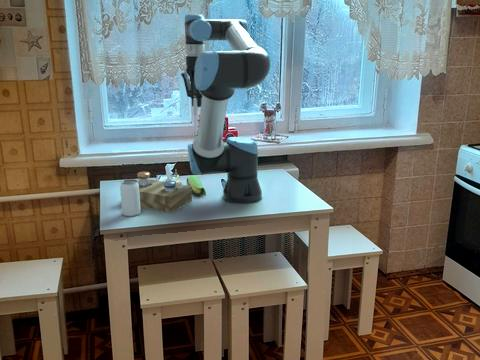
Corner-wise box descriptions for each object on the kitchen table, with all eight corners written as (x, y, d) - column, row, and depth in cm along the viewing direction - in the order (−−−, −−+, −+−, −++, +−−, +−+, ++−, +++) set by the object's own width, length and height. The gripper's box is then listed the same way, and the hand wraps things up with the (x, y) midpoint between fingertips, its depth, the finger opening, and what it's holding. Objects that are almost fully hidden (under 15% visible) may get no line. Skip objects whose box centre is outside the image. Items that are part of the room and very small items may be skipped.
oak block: (192, 201, 194) (191, 186, 193) (171, 212, 182) (170, 196, 181) (145, 192, 204) (145, 178, 202) (123, 203, 192) (121, 188, 190)
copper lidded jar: (153, 192, 196) (152, 172, 194) (145, 196, 192) (144, 175, 190) (143, 191, 198) (142, 170, 196) (136, 194, 194) (134, 173, 192)
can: (139, 216, 179) (137, 184, 175) (121, 217, 178) (118, 184, 175) (141, 210, 185) (139, 178, 182) (123, 210, 185) (121, 179, 181)
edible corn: (197, 174, 215) (187, 172, 213) (208, 189, 197) (197, 187, 195) (194, 185, 216) (184, 183, 215) (205, 201, 198) (194, 199, 196)
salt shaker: (179, 202, 191) (178, 181, 189) (172, 206, 188) (171, 184, 185) (169, 200, 193) (168, 180, 191) (162, 204, 190) (161, 183, 187)
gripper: (176, 55, 201) (178, 114, 208) (204, 56, 195) (205, 117, 202) (186, 54, 207) (188, 112, 214) (214, 55, 201) (215, 114, 208)
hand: (197, 114), depth 208 cm, fingers closed
